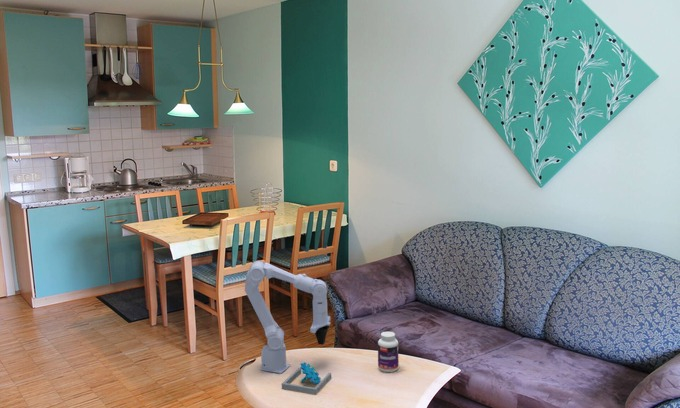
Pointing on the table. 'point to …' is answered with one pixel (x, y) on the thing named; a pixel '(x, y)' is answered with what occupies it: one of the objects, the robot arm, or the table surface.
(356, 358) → the table surface
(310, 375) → the gear
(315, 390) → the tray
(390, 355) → the pill bottle
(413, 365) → the table surface
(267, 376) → the table surface
